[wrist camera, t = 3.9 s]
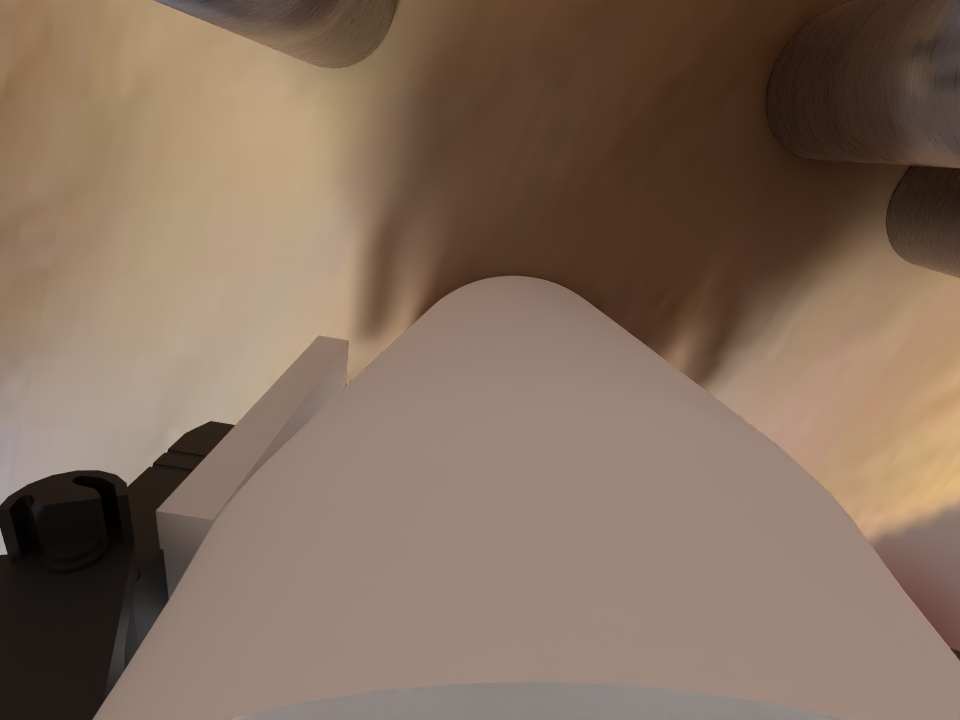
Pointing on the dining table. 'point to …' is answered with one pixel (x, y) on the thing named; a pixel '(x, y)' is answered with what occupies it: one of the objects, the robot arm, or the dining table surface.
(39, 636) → the robot arm
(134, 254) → the dining table surface
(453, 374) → the cup
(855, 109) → the posts
